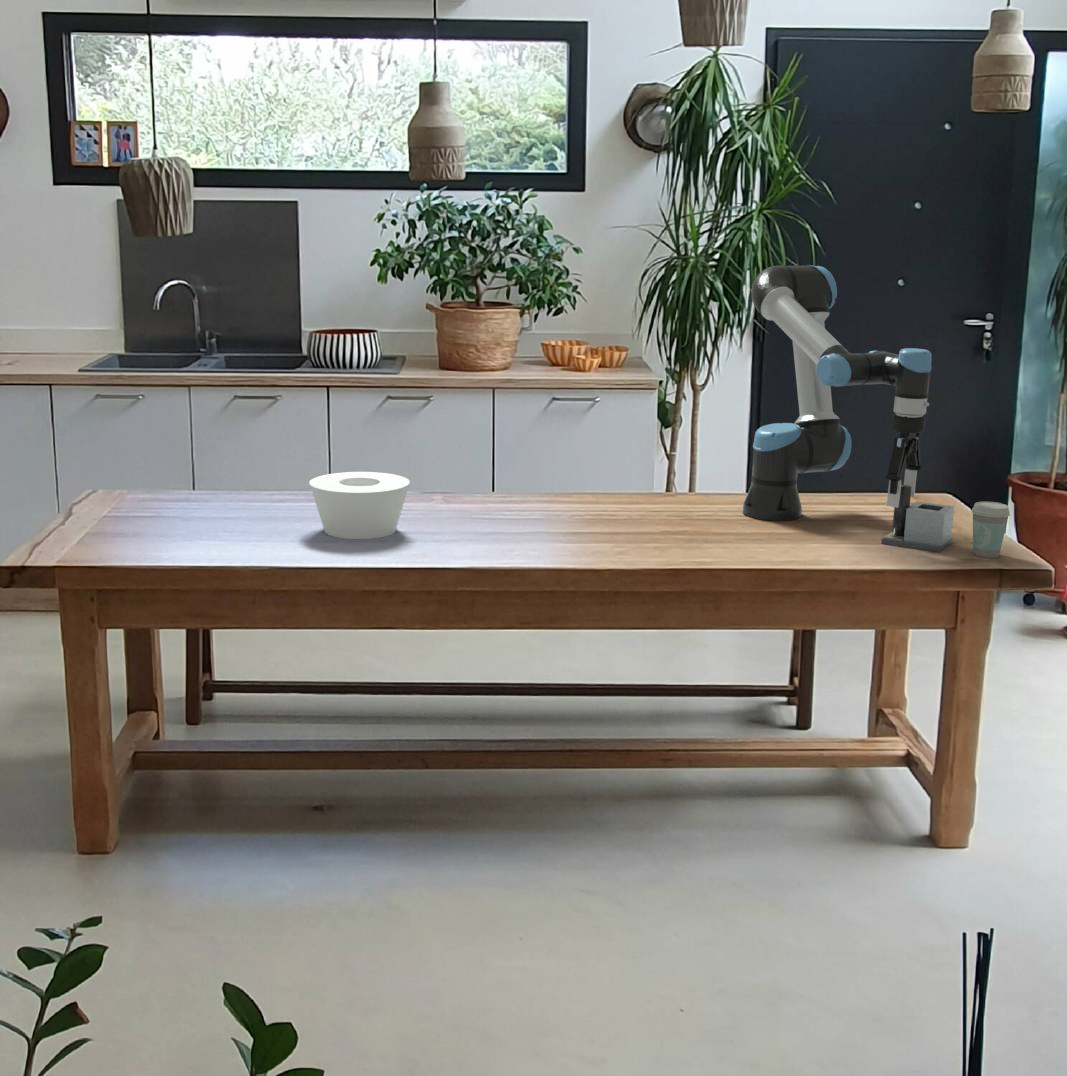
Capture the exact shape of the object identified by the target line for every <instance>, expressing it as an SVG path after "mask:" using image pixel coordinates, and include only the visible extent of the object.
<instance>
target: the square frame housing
mask: <svg viewBox="0 0 1067 1076" xmlns="http://www.w3.org/2000/svg"><path fill="white" fill-rule="evenodd" d="M954 513H955V506H954V505H953V506H952V505H945V504H938V503H929V502H922V501H916V502H914V503H913V504H910V507H908V508H907V510H906V521H905V532H904V536H895V535H892V531H891V532H889V533H888V534H887V535H885V536H884V537H882V538H881V544H883V545H889V546H895V547H902V548H908V549H916V550H921V551H922V550H923V551H930V552H935V553H941V552H942V551H944V550H945V549H946V548H947V547H948V546H950V544H952V541H953V537H952V535H953V533H952V532H953V523H954Z"/></svg>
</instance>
